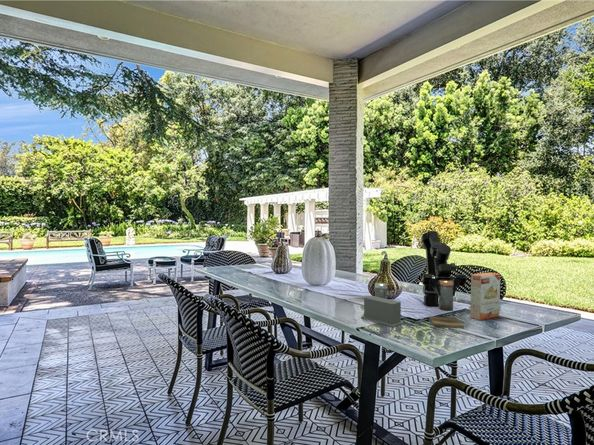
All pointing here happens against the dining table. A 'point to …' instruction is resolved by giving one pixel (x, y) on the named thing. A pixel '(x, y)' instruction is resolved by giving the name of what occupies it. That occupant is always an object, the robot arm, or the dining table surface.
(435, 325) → the walnut plate
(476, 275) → the cracker box
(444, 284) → the copper capped grey cylinder
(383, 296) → the steel cartridge
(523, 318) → the dining table surface
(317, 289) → the dining table surface
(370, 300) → the block
